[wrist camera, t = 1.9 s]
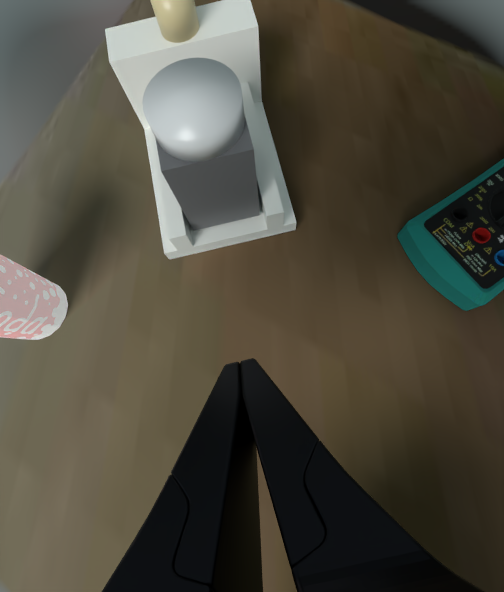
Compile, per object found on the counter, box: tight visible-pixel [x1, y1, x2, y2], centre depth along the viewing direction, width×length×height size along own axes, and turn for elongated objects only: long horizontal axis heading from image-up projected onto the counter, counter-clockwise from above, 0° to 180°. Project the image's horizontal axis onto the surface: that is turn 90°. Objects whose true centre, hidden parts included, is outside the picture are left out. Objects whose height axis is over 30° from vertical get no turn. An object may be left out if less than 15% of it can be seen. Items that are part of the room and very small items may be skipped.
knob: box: [142, 58, 260, 231], centre depth 20 cm, size 5×5×9 cm
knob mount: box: [105, 0, 297, 259], centre depth 22 cm, size 14×10×9 cm
